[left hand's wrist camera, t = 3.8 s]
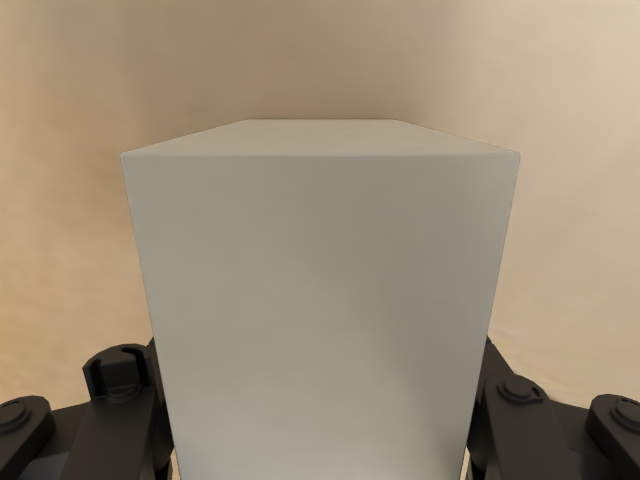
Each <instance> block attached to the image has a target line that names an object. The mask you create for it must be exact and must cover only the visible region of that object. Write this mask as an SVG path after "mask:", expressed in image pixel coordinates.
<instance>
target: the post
mask: <svg viewBox="0 0 640 480" xmlns="http://www.w3.org/2000/svg"><path fill="white" fill-rule="evenodd" d="M120 160H121V165H122V170H123V176H124V181H125V186H126V192H127V197H128V202H129V208H130V213H131V218H132V224H133V229H134V234H135V239H136V245H137V250H138V255H139V261H140V266H141V271H142V277H143V282H144V287H145V293H146V298H147V303H148V309H149V314H150V319H151V325H152V330H153V335H154V341H155V346H156V351H157V356H158V362H159V367H160V372H161V378H162V383H163V388H164V394H165V399H166V404H167V410H168V415H169V420H170V426H171V431H172V436H173V442H174V447H175V452H176V458H177V463H178V468H179V474H180V479H181V480H460V476H461V470H462V465H463V460H464V454H465V449H466V444H467V438H468V433H469V428H470V422H471V417H472V412H473V407H474V401H475V396H476V391H477V385H478V380H479V375H480V369H481V364H482V359H483V354H484V348H485V343H486V338H487V332H488V327H489V322H490V316H491V311H492V306H493V300H494V295H495V290H496V285H497V279H498V274H499V269H500V263H501V258H502V253H503V247H504V242H505V237H506V232H507V226H508V221H509V216H510V210H511V205H512V200H513V194H514V189H515V184H516V178H517V173H518V168H519V163H520V153H517V152H514V151H511V150H507V149H503V148H500V147H496V146H492V145H488V144H485V143H481V142H477V141H473V140H470V139H466V138H462V137H459V136H455V135H451V134H447V133H444V132H440V131H436V130H433V129H429V128H425V127H421V126H418V125H414V124H410V123H406V122H403V121H399V120H395V119H245V120H241V121H237V122H234V123H230V124H226V125H223V126H219V127H215V128H211V129H208V130H204V131H200V132H197V133H193V134H189V135H185V136H182V137H178V138H174V139H171V140H167V141H163V142H160V143H156V144H152V145H148V146H145V147H141V148H137V149H134V150H130V151H126V152H123V153H121V154H120Z"/></svg>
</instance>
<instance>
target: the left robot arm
mask: <svg viewBox="0 0 640 480" xmlns="http://www.w3.org/2000/svg"><path fill="white" fill-rule="evenodd" d="M82 369H83V372H84V376H85V380H86V383H87V387H88V390H89V394H90V397H91V400H90V402H86V403H83V404H79V405H75V406H71V407H66V408H62V409H58V410H53V411H52V410H51V407H50V404H49V402H48V401H47V400H46V399H45V398H44V397H40V396H33V395H32V396H26V397H19V398H16V399H13V400H10V401H8V402H5V403H3V404H1V405H0V480H172V473H173V469H172V462H171V457H170V456H171V453H172V451H173V448H174V442H173V436H172V431H171V426H170V420H169V415H168V410H167V404H166V399H165V394H164V388H163V383H162V378H161V372H160V367H159V362H158V356H157V351H156V346H155V341H154V336H153V338H152V339H151V340H150V342H149V345H147V346H146V347H145V346H143V345H139V344H122V345H118V346H114V347H110V348H108V349H106V350H104V351H101V352H99V353H98V354H96V355H95V356H93V357H92V358H91V359H89V360H88V361H87V363H86V364H85V365H84V366H83V368H82ZM466 446H467V448H468V451H469V453H470V457H469V462H468V467H467V473H466V478H465V480H640V403H639V402H637V401H635V400H632V399H629V398H626V397H623V396H619V395H612V394H604V395H598V396H597V397H595V398H594V399H593V400H592V402H591V405H590V408H589V409H585V408H581V407H576V406H572V405H568V404H563V403H559V402H556V401H552V400H550V399H549V398H548V396H547V395H546V393H545V392H544V390H543V389H542V388H541V387H539V386H538V385H537V384H536V383H534V382H533V381H531V380H529V379H527V378H525V377H523V376H520V375H516V374H514V372H513V371H512V370H511V368H510V367H509V365H508V364H507V363H506V361H505V360H504V358H503V357H502V356H501V354H500V353H499V351H498V350H497V348H496V347H495V346H494V344H492V343H491V340H490V339H489V337H488V336H487V338H486V343H485V348H484V354H483V359H482V364H481V369H480V375H479V380H478V385H477V391H476V396H475V401H474V407H473V412H472V417H471V422H470V428H469V433H468V438H467V444H466Z"/></svg>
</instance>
